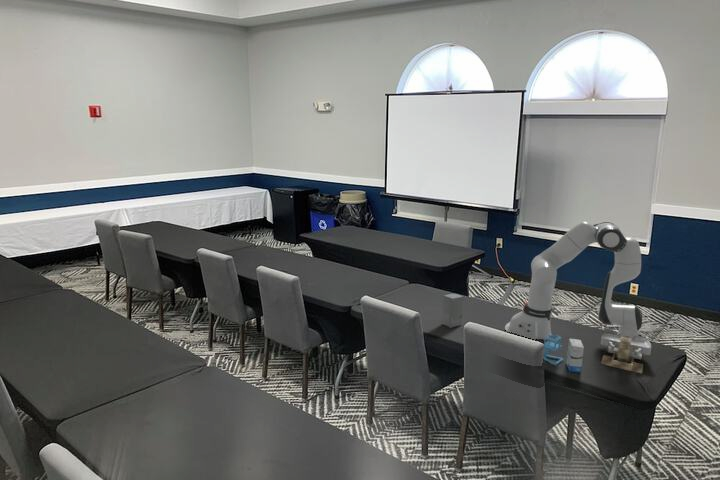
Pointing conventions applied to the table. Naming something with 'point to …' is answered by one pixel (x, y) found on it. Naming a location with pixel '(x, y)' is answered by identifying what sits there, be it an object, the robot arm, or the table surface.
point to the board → (629, 353)
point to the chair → (552, 348)
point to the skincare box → (452, 310)
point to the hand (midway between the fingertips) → (624, 350)
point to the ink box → (575, 355)
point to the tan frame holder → (622, 363)
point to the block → (624, 349)
